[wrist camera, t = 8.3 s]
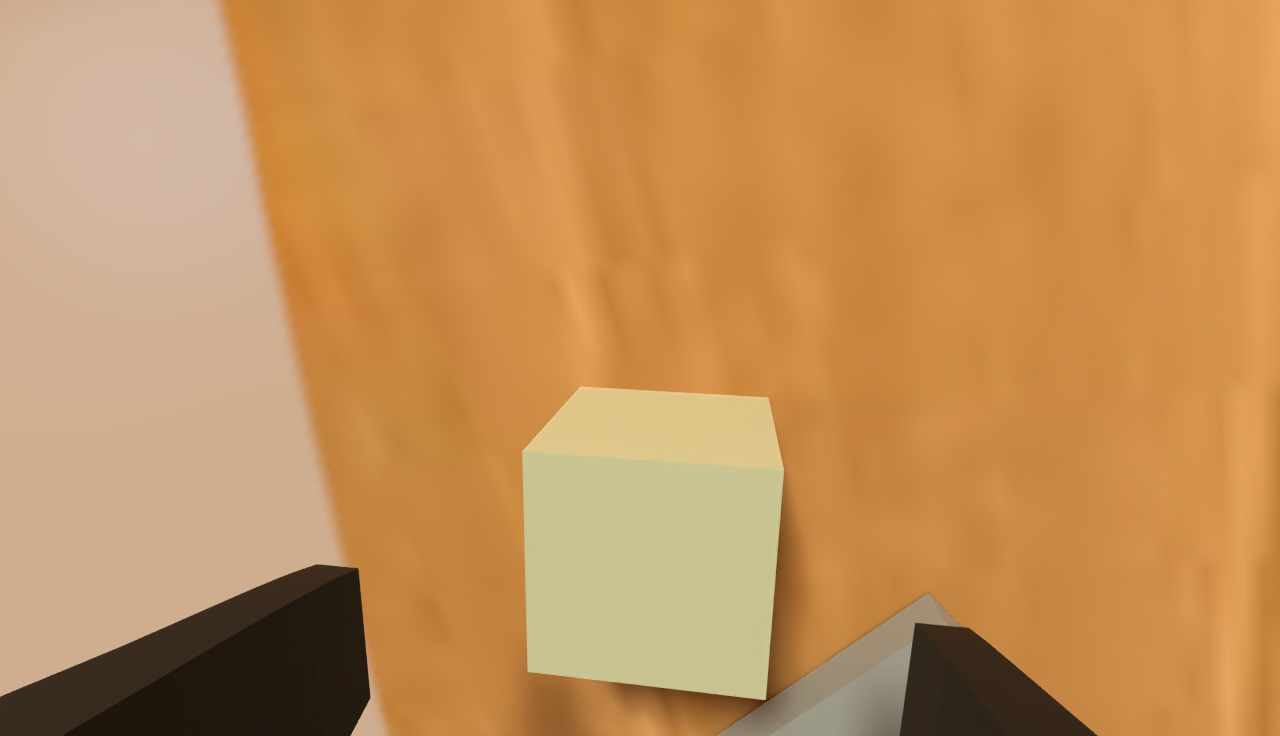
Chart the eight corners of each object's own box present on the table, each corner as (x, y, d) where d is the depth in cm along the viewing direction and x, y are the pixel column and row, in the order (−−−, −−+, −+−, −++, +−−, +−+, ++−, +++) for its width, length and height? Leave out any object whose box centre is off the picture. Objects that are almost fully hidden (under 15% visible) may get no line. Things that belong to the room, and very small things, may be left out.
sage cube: (768, 396, 13) (784, 470, 9) (756, 568, 14) (766, 700, 10) (581, 385, 14) (522, 451, 10) (581, 551, 15) (528, 671, 11)
